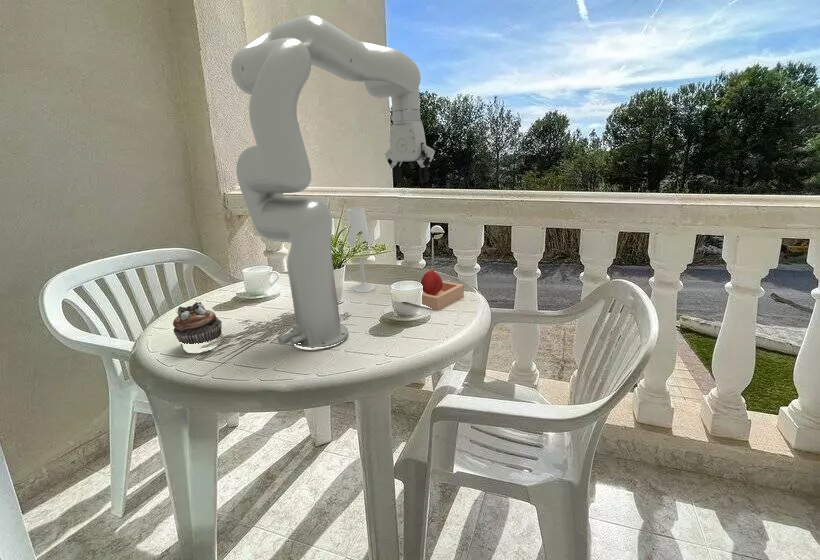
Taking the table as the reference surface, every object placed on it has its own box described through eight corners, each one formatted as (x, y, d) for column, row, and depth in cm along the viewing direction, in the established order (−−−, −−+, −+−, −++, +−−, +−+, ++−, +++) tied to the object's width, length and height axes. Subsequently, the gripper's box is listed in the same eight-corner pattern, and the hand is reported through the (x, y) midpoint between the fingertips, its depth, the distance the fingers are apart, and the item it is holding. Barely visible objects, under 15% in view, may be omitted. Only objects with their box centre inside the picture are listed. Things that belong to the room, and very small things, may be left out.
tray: (437, 310, 107) (437, 298, 106) (402, 302, 114) (401, 290, 113) (463, 296, 115) (463, 284, 114) (429, 289, 123) (428, 278, 122)
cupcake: (190, 360, 89) (179, 316, 86) (172, 348, 96) (161, 307, 93) (233, 343, 96) (224, 302, 93) (213, 333, 102) (205, 294, 99)
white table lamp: (364, 283, 132) (356, 206, 125) (379, 286, 128) (372, 207, 121) (348, 289, 127) (339, 210, 120) (363, 293, 123) (355, 211, 116)
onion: (419, 300, 112) (417, 271, 109) (423, 292, 117) (422, 265, 115) (441, 300, 110) (440, 271, 108) (444, 293, 116) (443, 265, 113)
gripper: (374, 121, 118) (379, 183, 123) (422, 115, 107) (426, 183, 112) (392, 121, 123) (397, 180, 128) (440, 115, 112) (443, 180, 117)
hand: (410, 182), depth 120 cm, fingers open, 9 cm apart
